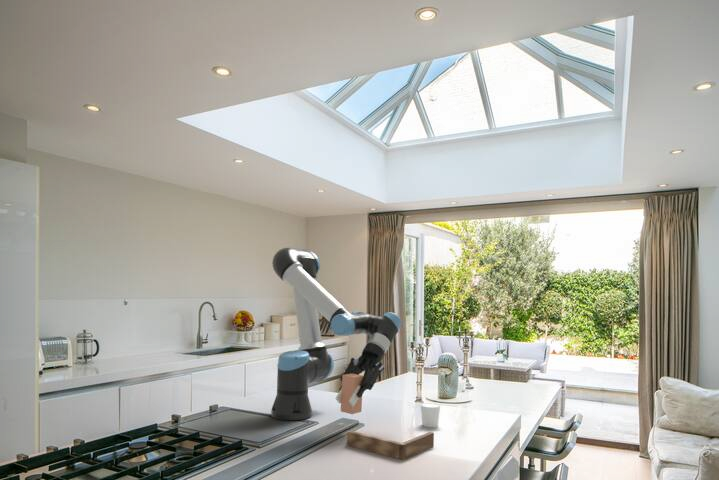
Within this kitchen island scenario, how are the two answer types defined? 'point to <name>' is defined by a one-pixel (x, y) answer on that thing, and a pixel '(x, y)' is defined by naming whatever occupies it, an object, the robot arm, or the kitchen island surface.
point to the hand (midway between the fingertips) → (344, 402)
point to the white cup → (430, 415)
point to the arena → (391, 444)
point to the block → (350, 393)
